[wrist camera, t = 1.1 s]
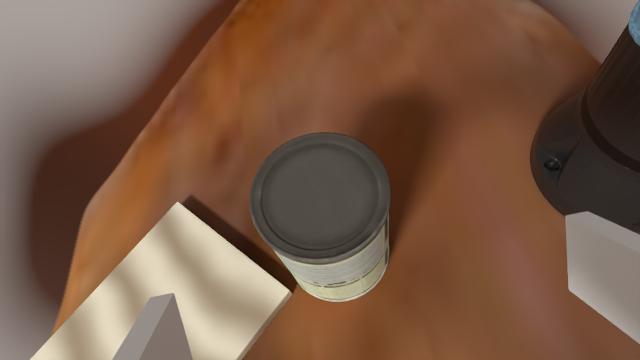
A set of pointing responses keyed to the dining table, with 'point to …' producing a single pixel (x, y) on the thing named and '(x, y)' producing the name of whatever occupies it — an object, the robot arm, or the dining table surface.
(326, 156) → the coffee can
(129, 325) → the birch board
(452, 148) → the dining table surface
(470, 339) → the dining table surface
